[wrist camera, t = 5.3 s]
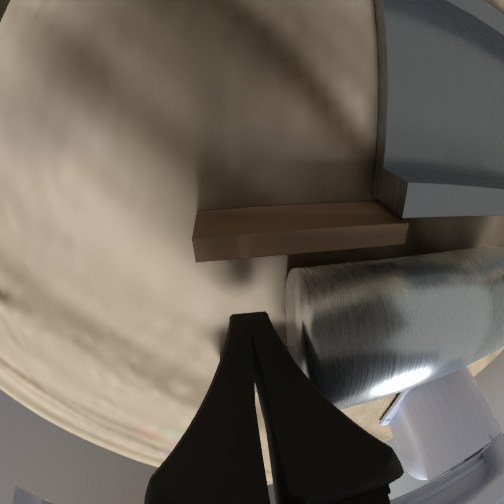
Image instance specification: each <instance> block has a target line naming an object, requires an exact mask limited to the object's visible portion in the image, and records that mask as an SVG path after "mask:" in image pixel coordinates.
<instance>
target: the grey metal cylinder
mask: <svg viewBox="0 0 504 504" xmlns="http://www.w3.org/2000/svg"><path fill="white" fill-rule="evenodd" d="M285 320H286V335H287V345H288V352H289V353H290V355H291V356H292V358H293V359H294V360H295V362H296V363H297V364H298V366H299V367H300V368H301V370H302V371H303V372H304V373H305V375H306V376H307V377H308V378H309V379H310V381H311V382H312V383H313V384H314V385H315V386H316V387H317V388H318V389H319V391H320V392H321V393H322V394H323V395H324V396H325V397H326V398H327V399H328V400H329V401H330V402H331V403H332V404H333V405H335V406H336V407H337V408H338V409H343V408H348V407H352V406H356V405H359V404H363V403H367V402H370V401H374V400H377V399H381V398H384V397H387V396H391V395H394V394H397V393H400V392H403V391H406V390H409V389H411V388H414V387H417V386H420V385H422V384H425V383H428V382H430V381H433V380H435V379H438V378H440V377H442V376H445V375H447V374H449V373H452V372H454V371H456V370H458V369H461V368H463V367H465V366H467V365H469V364H471V363H473V362H475V361H477V360H479V359H481V358H483V357H485V356H487V355H489V354H491V353H493V352H495V351H496V350H498V349H500V348H502V347H503V346H504V247H502V246H497V245H492V246H484V247H477V248H470V249H462V250H454V251H446V252H439V253H431V254H422V255H414V256H406V257H397V258H388V259H379V260H370V261H361V262H352V263H342V264H333V265H323V266H313V267H302V268H293V269H291V270H290V272H289V274H288V278H287V283H286V293H285Z"/></svg>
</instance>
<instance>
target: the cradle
mask: <svg viewBox="0 0 504 504" xmlns="http://www.w3.org/2000/svg"><path fill="white" fill-rule="evenodd" d="M374 3H375V12H376V23H377V37H378V57H379V113H378V135H377V150H376V162H375V173H374V183H373V191H372V194H373V195H374V196H375V197H377V198H378V199H379V200H381V201H382V202H383V203H384V204H386V205H387V206H388V207H389V208H391V209H392V210H393V211H394V212H395V213H397V214H398V215H399V216H400V217H402V218H418V217H449V216H499V215H504V14H503V13H501V12H500V11H499V10H497V9H496V8H495V7H493V6H492V5H491V4H489V3H488V2H486V1H485V0H374Z"/></svg>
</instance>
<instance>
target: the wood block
mask: <svg viewBox="0 0 504 504" xmlns="http://www.w3.org/2000/svg"><path fill="white" fill-rule="evenodd" d="M9 2H10V0H0V21H1V19H2V17H3V15H4V12H5V10H6V8H7V6H8V4H9Z"/></svg>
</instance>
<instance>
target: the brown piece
mask: <svg viewBox="0 0 504 504" xmlns="http://www.w3.org/2000/svg"><path fill="white" fill-rule="evenodd" d="M408 226H409V223H408V222H407V221H406V220H405V219H403V218H402V217H400V216H399V215H398V214H397V213H395V212H394V211H393V210H392V209H391V208H389V207H388V206H387V205H386V204H384V203H383V202H382V201H363V202H332V203H309V204H290V205H273V206H258V207H244V208H232V209H220V210H208V211H197V215H196V220H195V226H194V231H193V237H192V241H193V247H194V253H195V259H196V262H205V261H217V260H229V259H241V258H253V257H264V256H276V255H287V254H299V253H310V252H322V251H333V250H344V249H355V248H366V247H377V246H388V245H399V244H405V240H406V235H407V231H408ZM286 349H287V350H288V347H286ZM221 356H222V354H220V359H221ZM255 392H257V388H256V384H255Z"/></svg>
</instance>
